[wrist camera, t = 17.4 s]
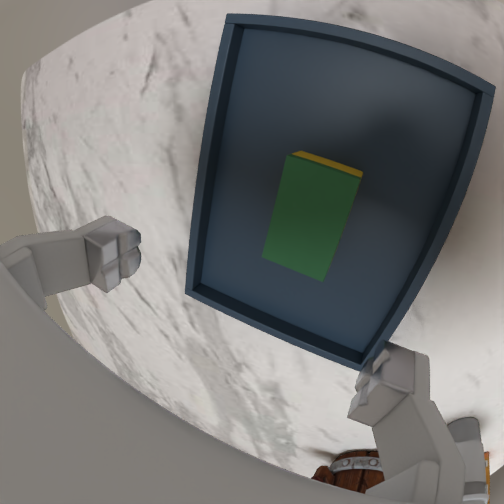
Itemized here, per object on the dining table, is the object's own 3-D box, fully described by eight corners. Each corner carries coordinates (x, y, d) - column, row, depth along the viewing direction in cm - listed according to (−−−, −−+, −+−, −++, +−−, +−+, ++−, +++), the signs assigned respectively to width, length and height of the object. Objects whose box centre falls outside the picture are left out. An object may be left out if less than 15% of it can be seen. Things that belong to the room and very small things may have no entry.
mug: (383, 486, 33) (345, 557, 21) (315, 453, 38) (265, 523, 27) (426, 462, 27) (390, 552, 15) (346, 425, 32) (291, 515, 21)
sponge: (300, 150, 19) (286, 154, 16) (363, 171, 17) (360, 180, 15) (276, 240, 22) (261, 257, 20) (331, 262, 21) (323, 282, 19)
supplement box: (488, 459, 23) (486, 515, 14) (468, 464, 24) (463, 520, 16) (490, 450, 22) (489, 509, 14) (469, 456, 24) (464, 515, 16)
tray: (242, 22, 17) (226, 13, 15) (483, 89, 12) (496, 86, 10) (198, 280, 29) (184, 293, 27) (368, 354, 24) (364, 373, 22)
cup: (431, 443, 25) (419, 525, 16) (438, 416, 23) (429, 512, 14) (480, 436, 22) (477, 517, 12) (493, 407, 20) (497, 500, 10)
